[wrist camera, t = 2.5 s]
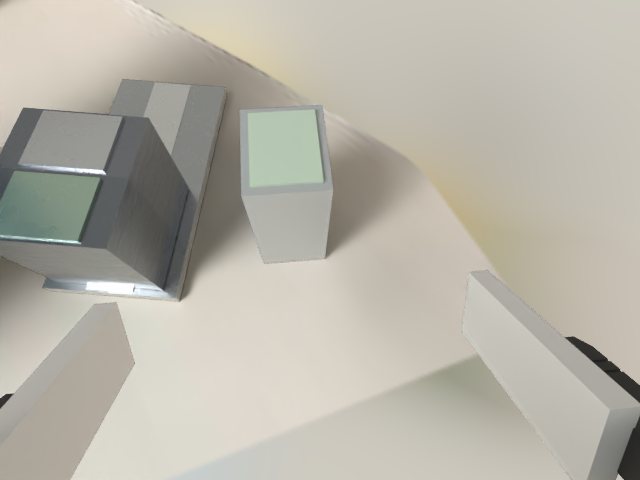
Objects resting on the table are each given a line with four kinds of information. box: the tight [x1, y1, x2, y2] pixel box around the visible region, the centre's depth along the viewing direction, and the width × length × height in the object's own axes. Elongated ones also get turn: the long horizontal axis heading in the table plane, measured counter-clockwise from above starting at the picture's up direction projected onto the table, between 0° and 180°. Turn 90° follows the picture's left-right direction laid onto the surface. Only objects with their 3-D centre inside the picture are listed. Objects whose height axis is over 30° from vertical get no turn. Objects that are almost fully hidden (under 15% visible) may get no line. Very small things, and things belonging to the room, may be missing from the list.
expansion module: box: [240, 105, 333, 264], centre depth 26 cm, size 5×6×11 cm
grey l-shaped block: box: [0, 79, 227, 302], centre depth 28 cm, size 10×21×10 cm, turn 176°
